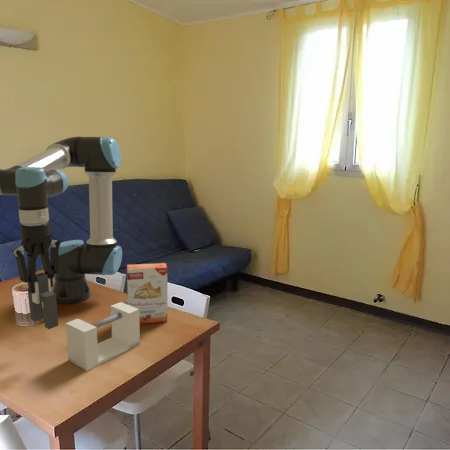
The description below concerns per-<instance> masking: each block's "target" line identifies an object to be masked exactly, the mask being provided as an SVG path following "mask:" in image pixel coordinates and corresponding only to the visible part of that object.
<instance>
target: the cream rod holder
mask: <svg viewBox="0 0 450 450" xmlns="http://www.w3.org/2000/svg"><path fill="white" fill-rule="evenodd" d="M108 324H111V337H109V338H107V339H105V340H102V341H101V342H99V343H98V329H99V328H101V327H103V326H105V325H108ZM140 326H141V324H139V309H137V308H135V307H132V306H130V305H127V304H125V302H122V301H120V302H118V303H115V304H112V305H110V316H108V317H105V318H103V319H100V320H98V321H96V322H93V323H89V322H86V321H85V320H82V319H80V318H75V319H73V320H70V321H68V322H66V323H65V329H66V330H65V331H66V343H67V360H68V361H69V362H71V363H72V364H74V365H76V366H77V367H79V368H81V369H82V370H84V371H87V372H88V371H89V370H92V369H93V368H96V367H98V366H99V365H101V364H104V363H105V362H107V361H109V360H111V359H113V358H115V357H117V356H119V355H121V354H123V353H125V352H127V351H128V350H130V349H132V348H135V347H136V346H139V345H140V344H141V337H140V336H141V334H140V333H141V332H140V331H141V330H140V328H141V327H140Z"/></svg>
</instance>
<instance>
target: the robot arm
mask: <svg viewBox="0 0 450 450" xmlns="http://www.w3.org/2000/svg"><path fill="white" fill-rule="evenodd" d="M121 162H122V154H121V150H120V146H119V144H118V142H117V141H116V140H115V139H114V138H112V137H106V136H105V137H104V136H72V137H67V138H64V139H61V140H59V141H56V142H53V143H52V144H50V145H48V146H47V147H46V149H45V150H44V151H41V152H40V153H37V154H35V155H34V156H32V157H29V158H28V159H26V160H23V161H22V162H19V163H17V164H15V165H13V166H11V167H8V168H6V169H1V168H0V195H2V196H17V203H18V216H19V223H20V228H19V229H20V235H21V239H22V240H21V243H20V246H19V247H18V248H13V249H11V250H12V251H11V252H12V254H13V256H14V257H15V261H16V266H17V271H18V275H19V280H20V281H21V282H23V283H26V284H27V287H28V289H27V291H28V290H29V293H32V302H34V303H36V304H39V303H40V299H39V288H38V282H36V281H35V274H37V273H36V272H37V260H38V256H40V257H39V258H40V261H41V264H42V268H43V269H42V270H43V271H44V272H43V273H44V274H47V275H48V285H49V291H51V292H53V293H55V294H56V303H57V304H66V305H67V304H69V305H70V304H77V303H79V302H83V301H86V300H87V299H89V298H90V297H91V288H90V287H91V286H89V283H88V281H87V279H86V275H99V276H114V275H115V274H117V272H118V271H119V268H120V267H121V263H122V259H123V248H122V246H120V245H117V244H118V243H117V242H118V241H117V239H116V238H115V237H114V231H113V230H114V229H113V228H114V227H113V223H114V221H113V177H114V175H115V174H116V173H117V172H116V171H117V169H118V168H120V166H121ZM70 167H71V168H84V173H85V174H86V175H87V176H88V188H89V189H88V194H89V195H88V196H89V199H88V200H89V235H90V236H89V239H87V240H86V244H84V240H82V239H73V240H66V241H63V242H61V241H59V240H56V239H53V238H52V237H51V225H50V223H49V220H50V216H49V215H50V213H49V204H48V203H49V202H48V199H49V198H52V197H55V196H58V195H60V194H63V193H64V192H65V191H66V190H67V189H68V187H69V179H68V176H67V175H66V173H65V172H63V171H62V170H63V169H66V168H70ZM49 248H50V252H49ZM24 251H25V252H26V258H27V262H26V260H25V256H24V255H25V252H24ZM26 263H27V264H26ZM53 280H54V281H53Z"/></svg>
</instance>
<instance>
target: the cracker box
mask: <svg viewBox="0 0 450 450" xmlns="http://www.w3.org/2000/svg"><path fill="white" fill-rule="evenodd" d="M126 277H127V279H126V281H127V282H126V283H127V284H126V285H127V286H126V287H127V290H126V291H127V299H128V305H130V306H132V307H135V308H137V309H139V324H140V325H143V324H154V323H167V322H168V266H167V262H166V263H165V262H161V263H139V264H137V263H136V264H126Z"/></svg>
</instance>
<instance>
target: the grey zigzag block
mask: <svg viewBox="0 0 450 450" xmlns="http://www.w3.org/2000/svg"><path fill="white" fill-rule="evenodd" d="M35 281H36V282H38V288H39V299H40V303H39V304H36V303H34V302H32V293H29V290H28V288H27V297H28V304H29V305H28V306H29V307H28V308H29V316H30V317H29V318H30V320H31V321H33V322H35V321H39V320H41V319H44V328H46V329H48V330H52V329H53V328H56V327H58V326H59V317H58V315H59V314H58V305H57V304H58V303H56V294H55V293H53V292H52V290H51V291H49V285H48V275H47V274H45V273H44V272H38V273H36V274H35Z"/></svg>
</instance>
